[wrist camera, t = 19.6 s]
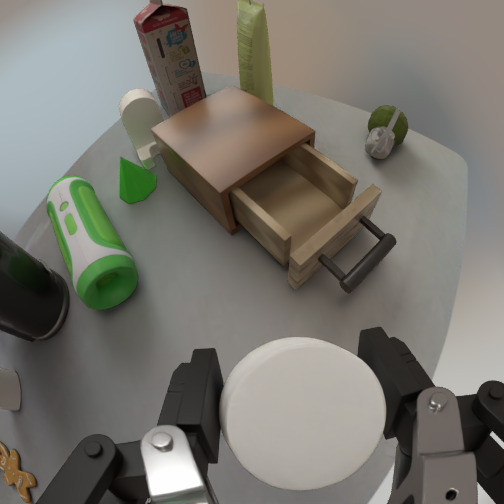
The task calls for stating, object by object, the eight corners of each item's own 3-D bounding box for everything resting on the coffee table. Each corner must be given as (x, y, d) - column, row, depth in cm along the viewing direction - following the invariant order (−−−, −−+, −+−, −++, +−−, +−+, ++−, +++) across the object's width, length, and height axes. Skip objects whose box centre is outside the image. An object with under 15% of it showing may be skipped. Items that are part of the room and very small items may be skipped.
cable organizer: (145, 171, 38) (118, 118, 29) (133, 137, 42) (111, 90, 33) (178, 154, 38) (158, 99, 30) (161, 123, 43) (143, 75, 34)
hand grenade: (420, 112, 31) (401, 159, 30) (403, 132, 38) (382, 177, 37) (385, 89, 32) (361, 132, 31) (372, 112, 38) (347, 154, 37)
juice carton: (194, 91, 47) (169, -12, 27) (208, 104, 44) (182, -11, 24) (161, 105, 46) (127, 2, 26) (172, 120, 43) (135, 4, 23)
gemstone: (114, 184, 37) (96, 157, 32) (149, 163, 38) (135, 134, 33) (125, 211, 35) (105, 183, 29) (164, 188, 36) (148, 156, 30)
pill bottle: (223, 426, 13) (165, 468, 5) (258, 341, 15) (241, 288, 7) (316, 455, 12) (362, 524, 4) (348, 369, 14) (429, 345, 6)
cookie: (26, 509, 14) (-13, 460, 17) (30, 508, 15) (-9, 460, 18) (36, 478, 18) (-4, 427, 20) (40, 477, 19) (0, 428, 21)
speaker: (63, 225, 35) (34, 195, 28) (99, 194, 37) (75, 160, 30) (105, 320, 28) (65, 299, 22) (153, 281, 30) (121, 250, 23)
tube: (281, 106, 42) (278, -4, 25) (270, 123, 40) (263, 3, 23) (249, 100, 43) (238, -5, 26) (236, 116, 41) (219, 3, 24)
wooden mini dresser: (310, 176, 35) (315, 130, 28) (231, 235, 32) (219, 193, 25) (238, 125, 40) (232, 84, 34) (167, 169, 37) (150, 128, 31)
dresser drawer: (395, 247, 28) (415, 219, 23) (326, 320, 26) (338, 303, 21) (284, 157, 35) (284, 122, 30) (213, 206, 33) (202, 172, 27)
